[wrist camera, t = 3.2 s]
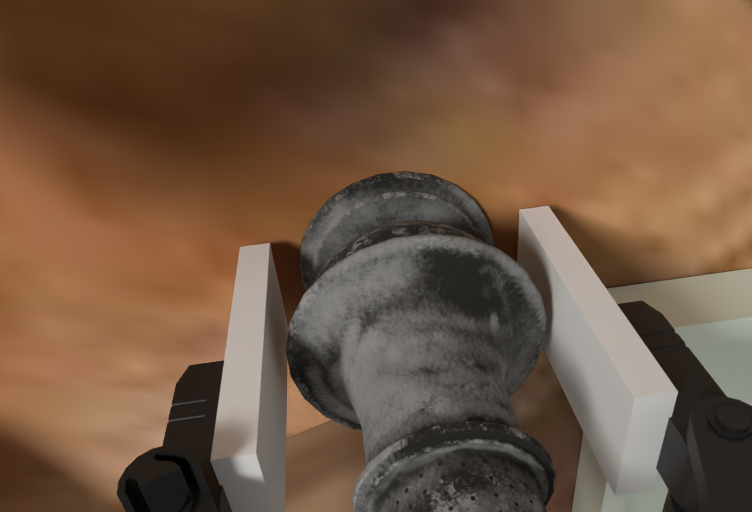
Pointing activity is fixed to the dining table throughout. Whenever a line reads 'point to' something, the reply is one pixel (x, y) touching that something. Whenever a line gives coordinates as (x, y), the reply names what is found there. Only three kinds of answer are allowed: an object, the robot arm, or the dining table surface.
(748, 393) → the coaster tray
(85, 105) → the dining table surface
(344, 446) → the walnut block
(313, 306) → the dark grey tall piece
